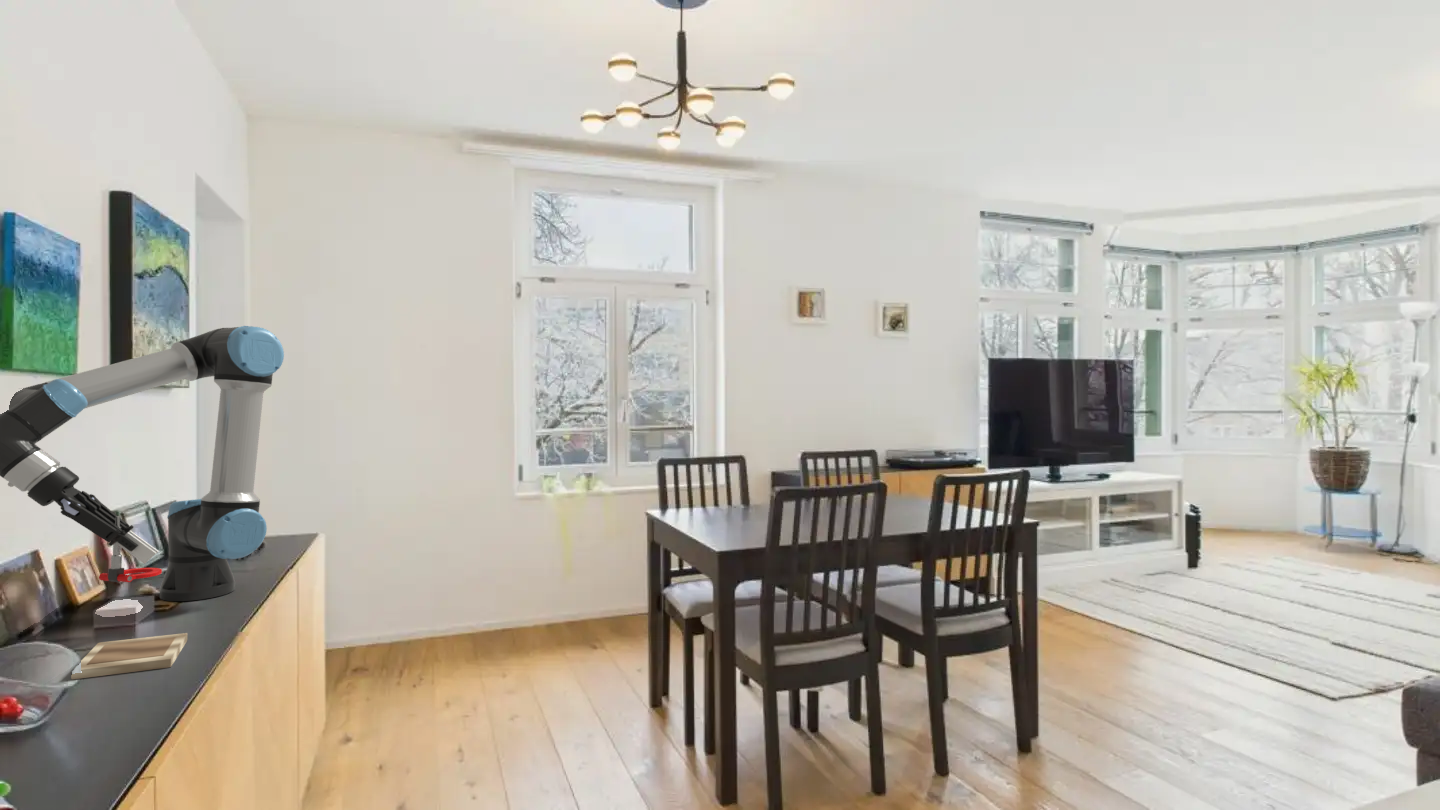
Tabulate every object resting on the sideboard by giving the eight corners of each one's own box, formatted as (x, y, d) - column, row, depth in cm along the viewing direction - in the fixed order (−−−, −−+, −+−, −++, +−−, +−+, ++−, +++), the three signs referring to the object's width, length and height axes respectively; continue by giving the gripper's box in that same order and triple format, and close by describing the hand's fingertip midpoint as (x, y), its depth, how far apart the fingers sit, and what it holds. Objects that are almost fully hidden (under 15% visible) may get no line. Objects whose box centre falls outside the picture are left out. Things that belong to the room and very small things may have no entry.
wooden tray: (98, 650, 144) (98, 642, 144) (187, 640, 150) (187, 632, 150) (71, 679, 130) (71, 670, 130) (170, 667, 136) (170, 658, 136)
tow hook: (138, 572, 160) (94, 581, 151) (139, 510, 160) (96, 516, 151) (172, 574, 158) (129, 583, 149) (173, 512, 158) (131, 517, 149)
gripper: (39, 489, 151) (144, 564, 159) (11, 498, 138) (126, 580, 146) (73, 461, 153) (174, 537, 161) (48, 468, 140) (160, 550, 148)
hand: (151, 557), depth 153 cm, fingers closed on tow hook
